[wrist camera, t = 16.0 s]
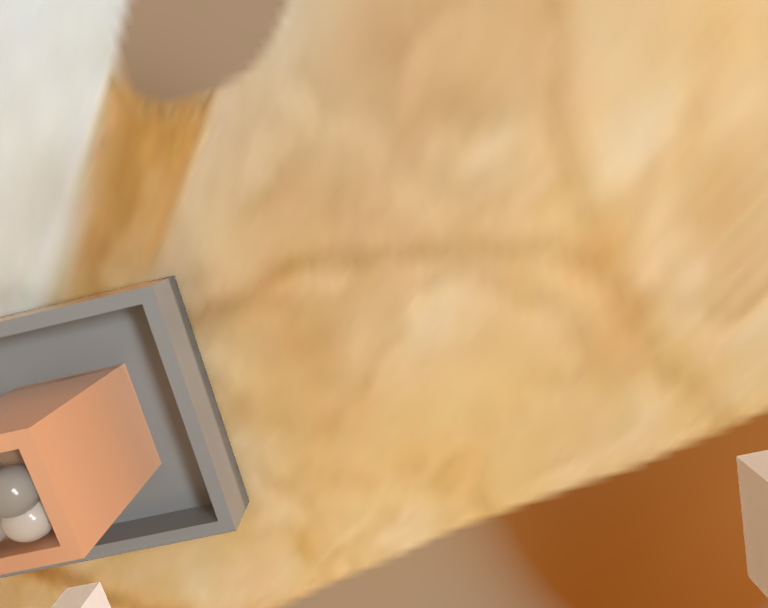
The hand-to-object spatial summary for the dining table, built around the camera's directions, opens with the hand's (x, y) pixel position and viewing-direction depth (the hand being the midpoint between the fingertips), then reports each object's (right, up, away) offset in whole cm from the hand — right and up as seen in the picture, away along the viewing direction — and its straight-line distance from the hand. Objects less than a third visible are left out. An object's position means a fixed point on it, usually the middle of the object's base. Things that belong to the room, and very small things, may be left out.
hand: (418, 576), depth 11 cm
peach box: (-22, -3, +28) cm, 35 cm away
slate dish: (-22, -3, +29) cm, 36 cm away
